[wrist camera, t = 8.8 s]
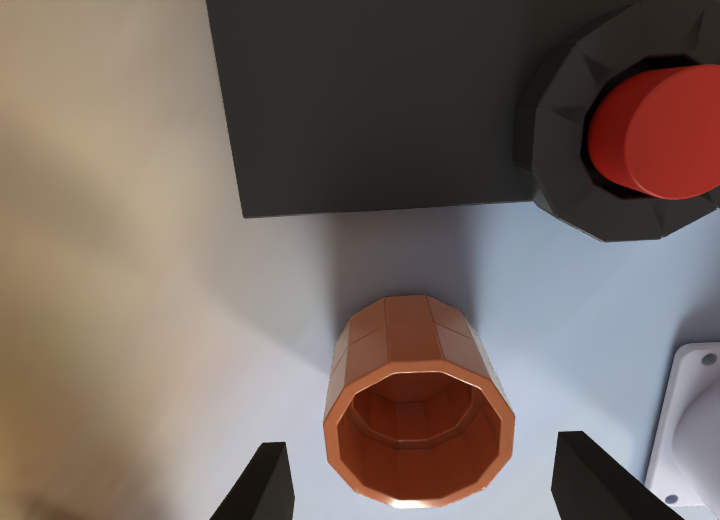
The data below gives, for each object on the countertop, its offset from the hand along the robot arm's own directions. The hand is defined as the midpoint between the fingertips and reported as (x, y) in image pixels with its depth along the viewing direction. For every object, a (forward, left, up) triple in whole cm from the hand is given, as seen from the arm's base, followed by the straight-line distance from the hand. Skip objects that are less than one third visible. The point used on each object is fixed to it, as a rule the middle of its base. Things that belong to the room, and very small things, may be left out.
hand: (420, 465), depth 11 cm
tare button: (-6, -8, -3) cm, 10 cm away
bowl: (0, 0, -5) cm, 5 cm away
